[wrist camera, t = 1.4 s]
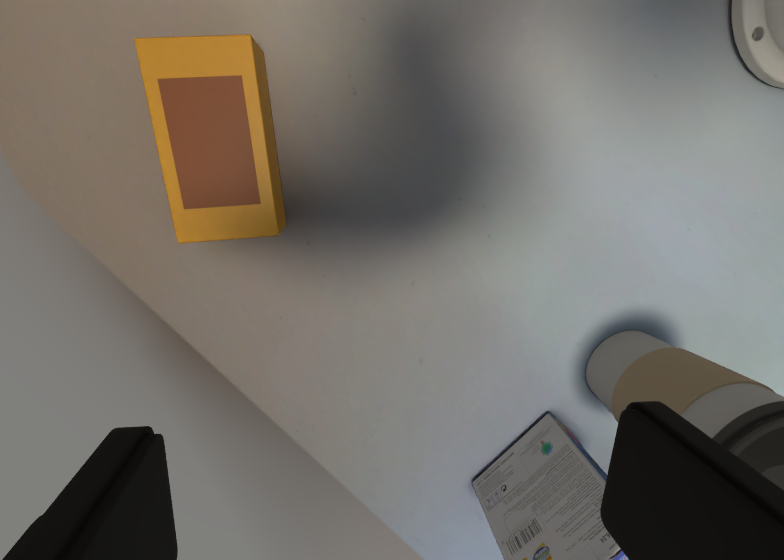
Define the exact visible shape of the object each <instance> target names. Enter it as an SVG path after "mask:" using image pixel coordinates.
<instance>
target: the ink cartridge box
mask: <svg viewBox="0 0 784 560" xmlns="http://www.w3.org/2000/svg"><path fill="white" fill-rule="evenodd" d="M606 480H607V475H606V474H605V472H604V471H603V470H602V469H601V468H600V467H599V466H598V464H597V463H596V462H595V461H594V460H593V458H592V457H591V456H590V455H589V454H588V453H587V451H586V450H585V449H584V448H583V446H582V445H581V444H580V442H579V441H578V439H577V438H576V437H575V436H574V435H573V434H572V433H571V432H570V431H569V430H568V429H567V428H566V427H565V426H564V425H563V424H562V423H561V422H560V421H559V420H558V419H557V418H555V417H554V416H553V415H552V414H551V413H549V414H546V415H545V416H544V417H543V418H542V419H541V420H540V421H539V422H538V423H537V424H536V425H535V426H534V427H532V428H531V429H530V430H529V431H528V432H527V433H526V434H525V435H524V436H523V437H522V438H521V439H519V440H518V441H517V442H516V443H515V444H514V445H513V446H512V447H511V448H510V449H509V450H507V451H506V452H505V453H504V454H503V455H502V456H501V457H500V458H499V459H497V460H496V461H495V462H494V463H493V464H492V465H491V466H490V467H489V468H488V469H487V470H486V471H485V472H483V473H482V474H481V475H480V476H479V477H478V478H477V479H476V480H475V481H473V483H472V485H473V487H474V490H475V492H476V494H477V497H478V499H479V501H480V504H481V506H482V508H483V511H484V513H485V515H486V518H487V520H488V523H489V525H490V527H491V530H492V532H493V534H494V537H495V539H496V541H497V544H498V546H499V548H500V550H501V553H502V555H503V558H504V560H629V559H628V558H627V556H626V555H625V554H624V552H623V551H622V550H621V548H620V547H619V546H618V544H617V543H616V542H615V541H614V539H613V538H612V537H611V535H610V534H609V533H608V531H607V530H606V528H605V527H604V525H603V522H602V519H601V515H600V508H601V503H602V499H603V494H604V489H605V484H606Z"/></svg>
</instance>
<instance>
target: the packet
mask: <svg viewBox="0 0 784 560" xmlns="http://www.w3.org/2000/svg"><path fill="white" fill-rule="evenodd" d="M134 40H135V45H136V50H137V54H138V59H139V64H140V68H141V73H142V78H143V83H144V87H145V92H146V97H147V101H148V106H149V111H150V115H151V120H152V125H153V129H154V134H155V139H156V144H157V148H158V153H159V158H160V162H161V167H162V172H163V176H164V181H165V186H166V191H167V195H168V200H169V205H170V209H171V214H172V219H173V223H174V228H175V233H176V238H177V242H178V243H190V242H203V241H215V240H228V239H241V238H253V237H266V236H278V235H279V234H280V233H281V231H282V230H283V229H284V227H285V226H286V218H285V210H284V203H283V195H282V188H281V180H280V173H279V166H278V158H277V151H276V143H275V136H274V128H273V121H272V113H271V106H270V98H269V91H268V83H267V76H266V68H265V61H264V53H263V51H262V50H261V49H260V47H259V46H258V45H257V43H256V42H255V40H254V39H253V38H252V36H251V35H221V36H189V37H158V38H135V39H134Z"/></svg>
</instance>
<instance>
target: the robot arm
mask: <svg viewBox="0 0 784 560" xmlns="http://www.w3.org/2000/svg"><path fill="white" fill-rule="evenodd" d="M732 27H733V33H734V39H735V42H736V45H737V48H738V51H739V53H740V56H741V57H742V59H743V61H744V62H745V64H746V65H747V67H748V69H749V70H751V71H752V72H753V73H754V74H755V75H756V76H757V77H758V78H759V79H761V80H762V81H764V82H766V83H768V84H769V85H771V86H775V87H779V88H783V89H784V0H732ZM600 515H601V519H602V522H603V525H604V527H605V528H606V530H607V531H608V533H609V534H610V535H611V537H612V538H613V539H614V541H615V542H616V543H617V544H618V546H619V547H620V548H621V550H622V551H623V552H624V554H625V555H626V556H627V558H628V559H629V560H784V490H782V489H781V488H780V487H778V486H777V485H776V484H774V483H773V482H771V481H770V480H769V479H767V478H766V477H764V476H763V475H762V474H760V473H759V472H758V471H756V470H755V469H753V468H752V467H751V466H749V465H748V464H747V463H745V462H744V461H742V460H741V459H740V458H738V457H737V456H735V455H734V454H733V453H731V452H730V451H729V450H727V449H726V448H724V447H723V446H722V445H720V444H719V443H718V442H716V441H715V440H713V439H712V438H711V437H709V436H708V435H707V434H705V433H704V432H702V431H701V430H700V429H698V428H697V427H695V426H694V425H693V424H691V423H690V422H689V421H687V420H686V419H684V418H683V417H682V416H680V415H679V414H678V413H676V412H675V411H673V410H672V409H671V408H669V407H668V406H666V405H665V404H663V403H662V402H660V401H644V402H632V403H629V404H628V406H627V407H626V409H625V410H623V411H622V412H621V415H620V418H619V423H618V428H617V433H616V437H615V442H614V447H613V451H612V456H611V461H610V466H609V470H608V475H607V480H606V484H605V489H604V494H603V499H602V503H601V508H600ZM3 560H177V540H176V532H175V524H174V517H173V509H172V501H171V493H170V485H169V477H168V469H167V461H166V453H165V445H164V439H163V436H162V435H161V434H154V432H153V430H152V428H151V427H149V426H144V427H124V428H115V429H113V430H112V431H111V432H110V433H109V434H108V435H107V436H106V438H105V439H104V440H103V441H102V443H101V444H100V445H99V446H98V448H97V449H96V450H95V451H94V453H93V454H92V455H91V456H90V457H89V459H88V460H87V461H86V462H85V464H84V465H83V466H82V467H81V468H80V470H79V471H78V472H77V474H76V475H75V476H74V477H73V478H72V480H71V481H70V482H69V483H68V485H67V486H66V487H65V488H64V490H63V491H62V492H61V493H60V494H59V496H58V497H57V498H56V499H55V501H54V502H53V503H52V504H51V505H50V507H49V508H48V509H47V511H46V512H45V513H44V514H43V515H42V516H40V517H39V518H38V519H37V520H35V522H34V523H32V524H31V525H30V527H29V528H28V529H27V530H26V532H25V533H24V534H23V535H22V536H21V538H20V539H19V540H18V541H17V543H16V544H15V545H14V546H13V547H12V549H11V550H10V551H9V552H8V553H7V555H6V556H5V557H4V558H3Z"/></svg>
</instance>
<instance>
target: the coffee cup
mask: <svg viewBox="0 0 784 560" xmlns="http://www.w3.org/2000/svg"><path fill="white" fill-rule="evenodd" d="M586 379H587V383H588V385H589V387H590V389H591V390H592V391H593V393H594V394H595V395H596V396H597V397H598V398H599V399H600V400H601V401H602V403H603V404H604V405H605V406H606V407H607V408H608V409H609V410H610V411H611V413H612V414H613V415H614V417H615V419H616V420H617V422H618V423H619V418H620V415H621V412H622V411H623V410H625V409H626V407H627V406H628V404H629V403H632V402H644V401H660V402H662V403H663V404H665V405H666V406H668V407H669V408H671V409H672V410H673V411H675V412H676V413H678V414H679V415H680V416H682V417H683V418H684V419H686V420H687V421H689V422H690V423H691V424H693V425H694V426H695V427H697V428H698V429H700V430H701V431H702V432H704V433H705V434H707V435H708V436H709V437H711V438H712V439H713V440H715V441H716V442H718V443H719V444H720V445H722V446H723V447H724V448H726V449H727V450H729V451H730V452H731V453H733V454H734V455H735V456H737V457H738V458H740V459H741V460H742V461H744V462H745V463H747V464H748V465H749V466H751V467H752V468H753V469H755V470H756V471H758V472H759V473H760V474H762V475H763V476H764V477H766V478H767V479H769V480H770V481H771V482H773V483H774V484H776V485H777V486H778V487H780V488H781V489H782V490H784V397H783V396H781V395H779V394H776V393H775V392H774V391H773V390H772V389H770V388H769V387H767V386H765V385H763V384H761V383H759V382H756V381H754V380H752V379H750V378H748V377H745V376H743V375H741V374H739V373H736V372H734V371H732V370H730V369H727V368H725V367H723V366H721V365H718V364H716V363H714V362H712V361H709V360H707V359H705V358H703V357H701V356H698V355H696V354H694V353H692V352H689V351H687V350H684V349H681V348H676V347H674V346H672V345H670V344H668V343H666V342H663V341H661V340H659V339H657V338H655V337H653V336H650V335H648V334H646V333H644V332H640V331H623V332H620V333H617V334H614V335H612V336H610V337H609V338H607V339H606V340H604V341H603V342H602V343H601V344H600V345H599V346H598V347H597V348H596V349H595V350H594V352H593V353H592V355H591V357H590V359H589V361H588V364H587V368H586Z"/></svg>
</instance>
